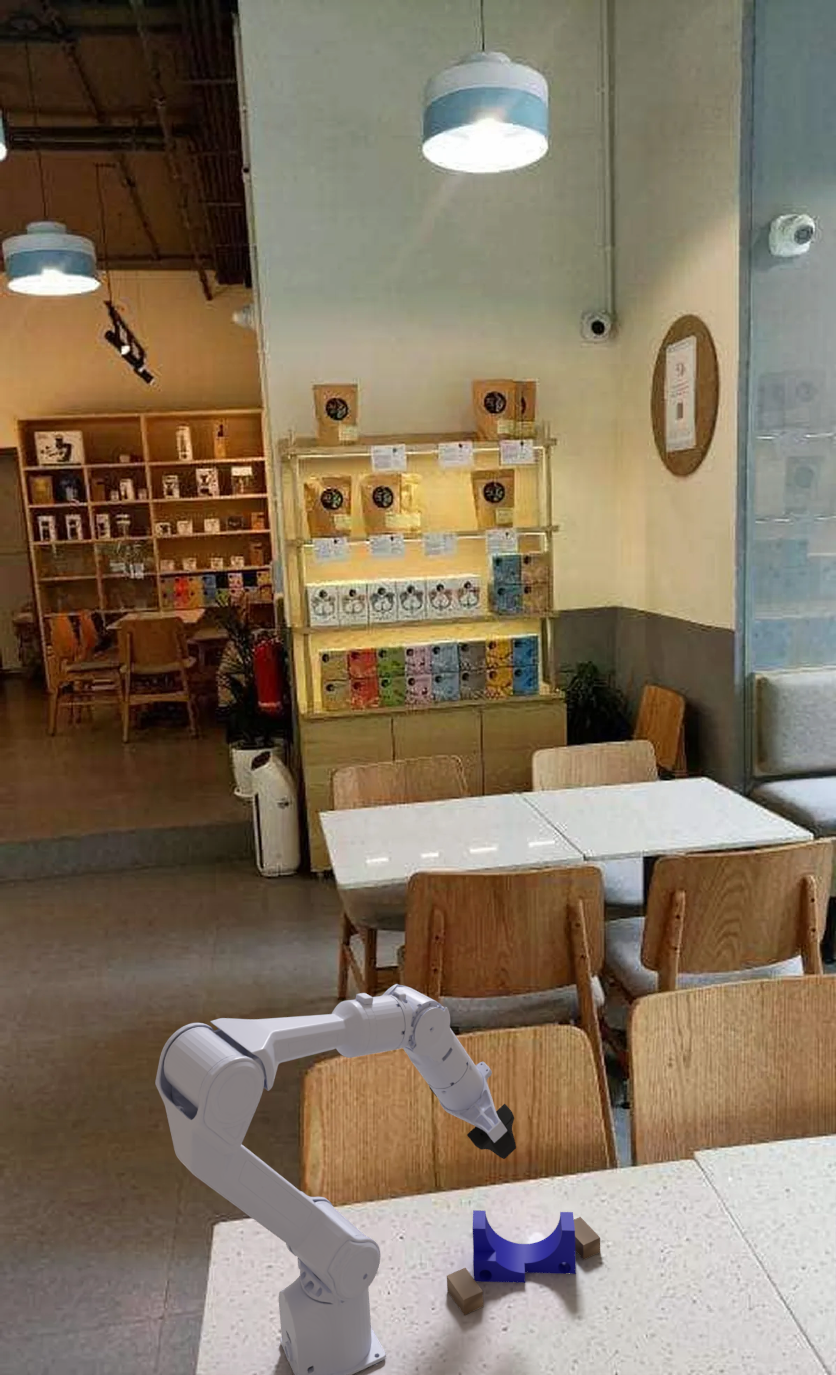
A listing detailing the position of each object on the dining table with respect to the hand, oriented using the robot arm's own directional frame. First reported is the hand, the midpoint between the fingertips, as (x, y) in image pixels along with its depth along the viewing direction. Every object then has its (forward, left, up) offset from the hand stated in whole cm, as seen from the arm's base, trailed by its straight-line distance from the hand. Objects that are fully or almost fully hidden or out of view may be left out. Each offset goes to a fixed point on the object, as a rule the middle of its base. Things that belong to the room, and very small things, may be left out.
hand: (491, 1130), depth 117 cm
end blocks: (0, -7, -14) cm, 16 cm away
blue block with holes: (0, -6, -15) cm, 16 cm away
